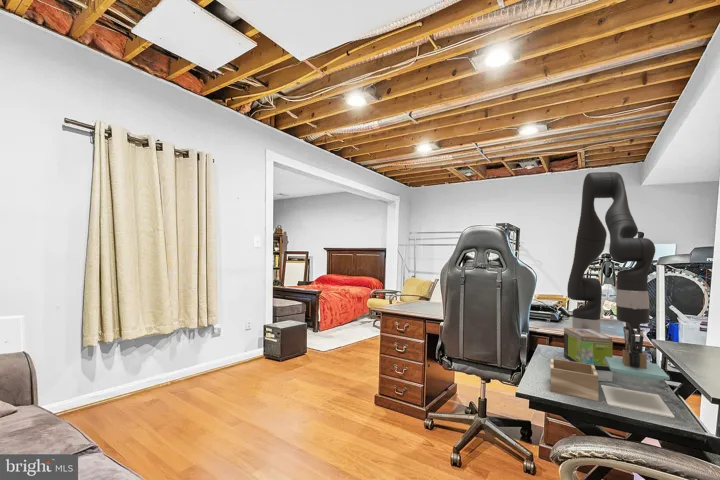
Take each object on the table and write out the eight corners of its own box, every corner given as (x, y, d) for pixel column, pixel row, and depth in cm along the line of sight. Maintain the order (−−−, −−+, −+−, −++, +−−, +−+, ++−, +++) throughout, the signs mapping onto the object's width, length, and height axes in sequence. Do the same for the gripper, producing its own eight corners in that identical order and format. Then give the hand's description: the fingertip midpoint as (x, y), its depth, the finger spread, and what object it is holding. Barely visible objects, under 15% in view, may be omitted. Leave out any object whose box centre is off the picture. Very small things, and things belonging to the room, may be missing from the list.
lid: (604, 362, 106) (604, 343, 106) (657, 370, 99) (656, 350, 99) (610, 374, 95) (610, 353, 95) (669, 383, 88) (669, 361, 88)
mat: (601, 386, 107) (601, 384, 107) (658, 396, 100) (658, 394, 100) (608, 405, 93) (607, 403, 93) (674, 418, 86) (674, 416, 86)
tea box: (614, 382, 111) (613, 337, 111) (580, 379, 113) (580, 335, 113) (592, 367, 125) (591, 328, 126) (562, 365, 127) (562, 326, 128)
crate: (551, 379, 112) (550, 358, 113) (594, 386, 106) (593, 364, 107) (550, 391, 102) (550, 368, 102) (598, 400, 96) (598, 376, 96)
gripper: (612, 301, 106) (613, 356, 105) (620, 307, 94) (621, 369, 93) (643, 303, 102) (644, 360, 101) (655, 310, 90) (656, 374, 89)
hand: (633, 364), depth 97 cm, fingers closed on lid, 3 cm apart
